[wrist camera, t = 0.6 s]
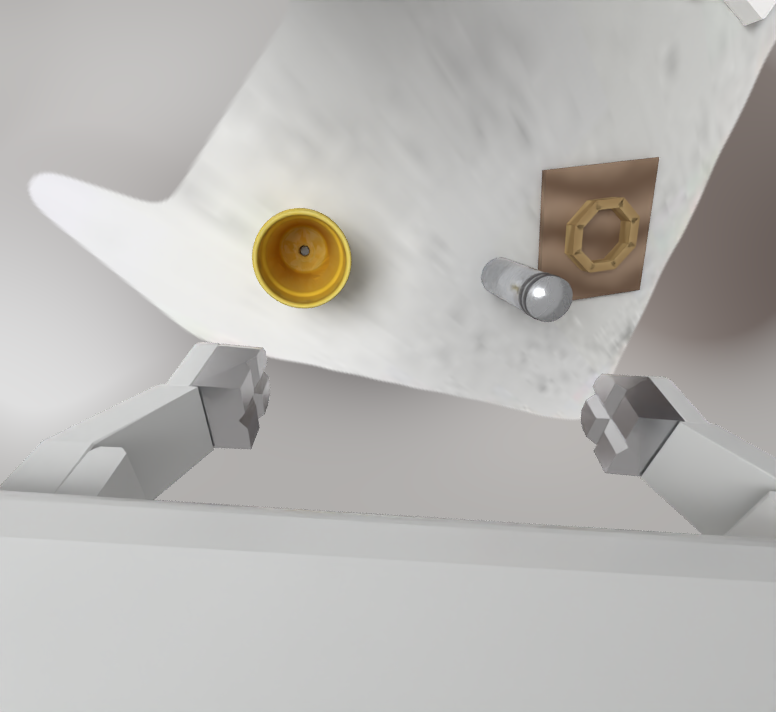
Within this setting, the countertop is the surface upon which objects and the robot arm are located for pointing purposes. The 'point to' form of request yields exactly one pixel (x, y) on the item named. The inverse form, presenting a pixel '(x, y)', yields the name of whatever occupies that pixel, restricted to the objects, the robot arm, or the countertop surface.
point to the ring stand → (597, 225)
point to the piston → (528, 289)
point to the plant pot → (301, 258)
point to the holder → (750, 9)
